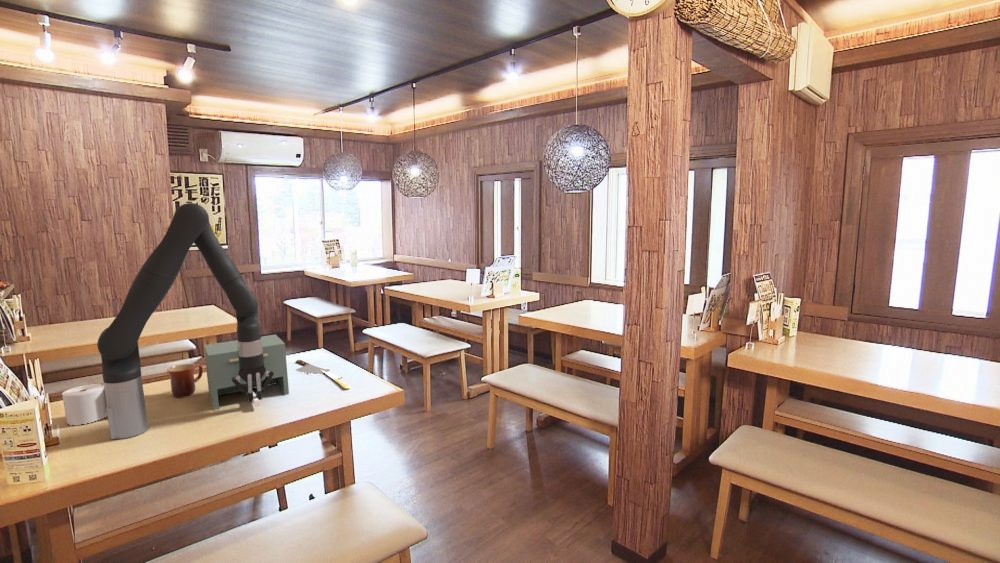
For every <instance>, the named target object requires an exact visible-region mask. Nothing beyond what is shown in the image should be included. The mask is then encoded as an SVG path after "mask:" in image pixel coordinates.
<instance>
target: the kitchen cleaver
mask: <svg viewBox="0 0 1000 563" xmlns="http://www.w3.org/2000/svg"><path fill="white" fill-rule="evenodd" d="M295 364H298V365H300V367H299V368H296V369H295V371H296V372H299V373H302V372H304V373H303V374H305V372H306V373H310V374H311V373H313V374H318V373H319V374H322V375H324V374H323V372H322V371H321V370H323V371H325V372H330V370H331V369H330V368H328V369H324V368H321V367H319V366H315V365H313V364H311V363H309V362H306V361H304V360H301V359H298V360H296V361H295ZM303 365H304V366H303Z"/></svg>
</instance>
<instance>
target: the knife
mask: <svg viewBox="0 0 1000 563" xmlns="http://www.w3.org/2000/svg"><path fill="white" fill-rule="evenodd" d="M322 367H323V366H322ZM322 367H320V368H322ZM321 371H322V372H323V373H325V374H324V375H326V376H328V377H329V378H330V379H333V381H335V382H336V384H337V385H340V386H341V387H342V388H343V389H345V390H348V389H351V388H352V386H351V385H347V384H346V383H345V382H343V381H341V380H339V379H341V377H342V376H341V377H339V376H337V375H335V374H333V373H331V372H325V371H323V370H321Z"/></svg>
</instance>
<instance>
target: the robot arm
mask: <svg viewBox="0 0 1000 563" xmlns="http://www.w3.org/2000/svg"><path fill="white" fill-rule="evenodd" d="M193 244H194V245H195V246H196V247H197V249H198V250H199V252H200V253H201V255H202V258H203V259H204V260H205V262H206V264H207V266H208V269H209V270H210V272H211V274H212V276H214V278H215V280H216V281H217V283H218V284H219V286H220V287H221V289H222V291H223V292H224V293H225V295H226V297H227V299H228V301H229V303H230V304H231V306H232V308H233V309H234V311H235V317H236V324H237V325H236V337H237V340H238V358H239V368H240V370H239V372H238V375H237V376H236V377H232V379H231V380H232V382H233V383H234V384H235V385H236V386H237V387H238V388H239V389H240V390H241V391H240V392H242V393H246V394H247V393H248V395H247V400H248V402H249V403H251V404H252V401H253V392H252V390H253V388H252V382H255V383H256V388H255V394H256V397H257V398H258V400H259V401H260V402H261V400H262V398H263V397H262V390H264V389H267V387H268V386H269V385H268V384H269V382H270V380H271V378H272V376H273V375H274V373H273V372H272V371H271V370H270V371H269V370H266V368H265V366H264V357H263V346H262V341H261V337H262V333H261V326H260V322H259V302H258V299H257V297H256V296H255V295H254V294H253V293H252V292H251V290H250V288H249V287H248V286H247V284H246V282H245V279H244V277H243V275H242V274H241V272H240V270H239V269H238V267H237V265H236V264H235V263H234V261H233V259H232V258H231V256H230V255H228V253H227V251H226V250H225V249H224V247H223V246H222V245H221V243H220V241H219V240H218V238H217V236H216V235H215V233H214V230H213V228H212V225H211V223H210V217H209V213H208V211H207V210H206V209H205V208H204V207H203V206H202V205H201V204H198V203H193V202H188V203H184V204H181V205H180V206H178V207H177V208H176V209H175V211H174V214H173V217H172V219H171V221H170V223H169V227H168V229H167V230H166V233H165V234H164V236H163V238H162V240H161V242H160V243H158V245H157V246H156V247H155V248H154V250H152V252H151V254H149V256H148V257H147V259H146V260H145V262H144V263H143V264H142V266H141V268H140V269H139V271H138V273H137V275H136V276H135V278H134V279H133V281H132V283H131V285H130V288H129V290H128V291H127V295H126V297H125V300H124V302H123V304H122V306H121V308H120V309H119V312H118V314H117V315H116V316H115V318H114V319H113V321H112V322H111V323H110V325H109V326H108V327H106V328H105V329H104V330H103V331H102V332H101V333H100V334H99V336H98V339H97V344H96V346H97V350H98V352H99V354H100V356H101V366H102V367H101V368H102V369H101V370H102V371H101V373H102V380H103V385H104V388H105V395H106V402H107V416H106V417H107V423H108V430H109V436H110V440H117V439H119V440H120V439H127V438H128V439H129V438H132V437H136V436H139V435H141V434H144V433H146V432H147V431H148V430H149V422H148V416H147V407H146V402H145V401H146V400H145V393H144V392H145V391H144V385H143V376H142V368H141V366H142V365H141V358H140V351H139V348H140V347H139V339H140V337H141V335H142V333H143V330H144V328H145V326H146V324H147V322H148V321H149V320H150V317H151V316H152V315H153V314H154V312H155V311H156V310H157V308H159V305H160V304H161V303H162V301H163V300H164V298H165V297H166V296H167V294H168V292H169V290H170V289H171V288H172V286H173V284H174V282H175V281H176V279H177V277H178V275H179V273H180V271H181V269H182V266H183V263H184V262H185V259H186V256H187V254H188V252H189V250H190V249H191V247H192V246H193ZM265 373H266V374H265ZM264 374H265V375H266V377H265V379H264V381H263V383H262V384H261V381H260V380H261V379H262V377H263V375H264ZM240 377H241V378H242V379H243V380H244V381H245V382H246V384H247V388H244V387H243V385H242V384H241V383H240Z"/></svg>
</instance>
